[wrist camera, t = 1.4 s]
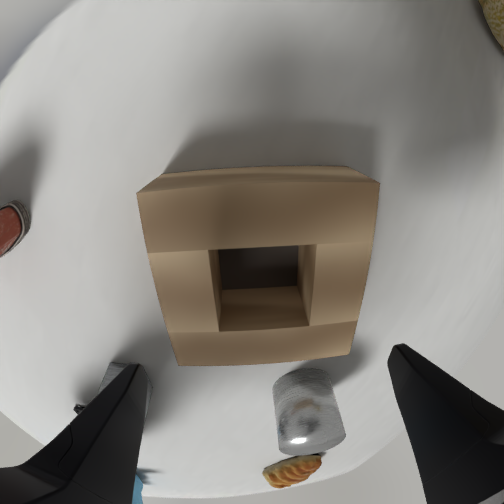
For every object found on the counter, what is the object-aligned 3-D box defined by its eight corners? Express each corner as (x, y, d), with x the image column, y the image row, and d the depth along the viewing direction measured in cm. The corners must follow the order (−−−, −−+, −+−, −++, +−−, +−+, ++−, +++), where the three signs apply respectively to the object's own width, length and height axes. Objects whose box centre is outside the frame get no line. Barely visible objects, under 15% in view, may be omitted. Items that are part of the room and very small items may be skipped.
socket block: (332, 313, 19) (348, 354, 15) (187, 322, 18) (178, 365, 15) (346, 166, 14) (379, 183, 11) (161, 174, 14) (136, 193, 10)
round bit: (325, 397, 24) (338, 449, 18) (272, 404, 24) (278, 458, 18) (334, 364, 21) (352, 423, 16) (272, 371, 21) (280, 434, 16)
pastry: (297, 449, 30) (301, 472, 27) (331, 452, 32) (336, 472, 29) (258, 468, 33) (260, 488, 30) (292, 471, 35) (294, 489, 32)
